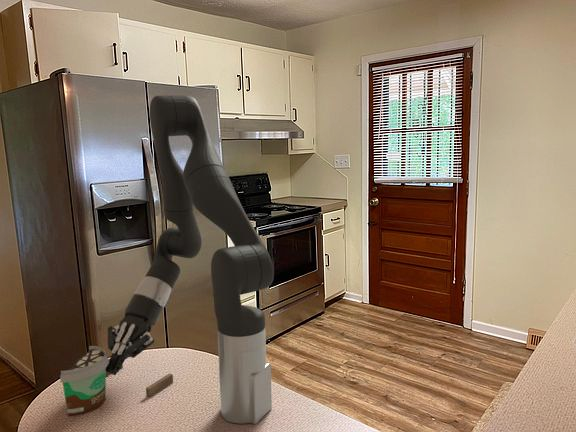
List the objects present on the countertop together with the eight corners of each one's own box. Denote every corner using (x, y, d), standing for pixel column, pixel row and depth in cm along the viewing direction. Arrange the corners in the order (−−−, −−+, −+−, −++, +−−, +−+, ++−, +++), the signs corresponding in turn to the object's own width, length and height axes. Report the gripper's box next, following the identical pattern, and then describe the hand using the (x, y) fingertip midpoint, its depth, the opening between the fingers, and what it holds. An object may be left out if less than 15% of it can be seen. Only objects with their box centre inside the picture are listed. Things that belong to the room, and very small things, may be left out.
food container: (95, 421, 85) (91, 372, 83) (64, 421, 85) (59, 372, 83) (121, 387, 97) (118, 344, 95) (94, 387, 97) (90, 344, 96)
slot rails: (173, 382, 98) (172, 374, 98) (149, 398, 92) (149, 389, 92) (120, 367, 106) (119, 359, 106) (95, 380, 100) (94, 371, 100)
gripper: (119, 289, 103) (77, 360, 94) (161, 296, 97) (120, 373, 88) (137, 304, 108) (99, 372, 99) (179, 312, 102) (142, 386, 93)
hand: (109, 373), depth 93 cm, fingers closed
